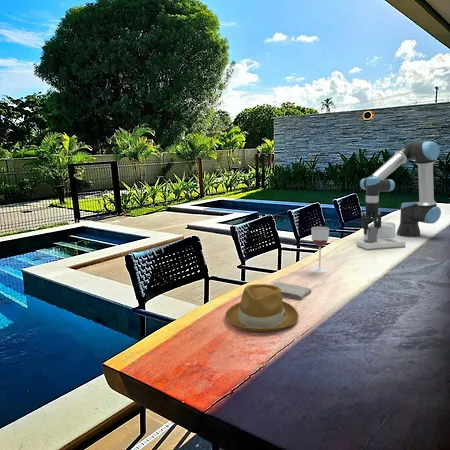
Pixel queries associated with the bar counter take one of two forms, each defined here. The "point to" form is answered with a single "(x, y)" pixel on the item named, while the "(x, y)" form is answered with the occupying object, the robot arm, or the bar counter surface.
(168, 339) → the bar counter surface
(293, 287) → the washcloth
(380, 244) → the socket plate
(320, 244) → the wineglass
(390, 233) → the cable organizer
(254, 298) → the fedora
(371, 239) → the plug
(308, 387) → the bar counter surface
